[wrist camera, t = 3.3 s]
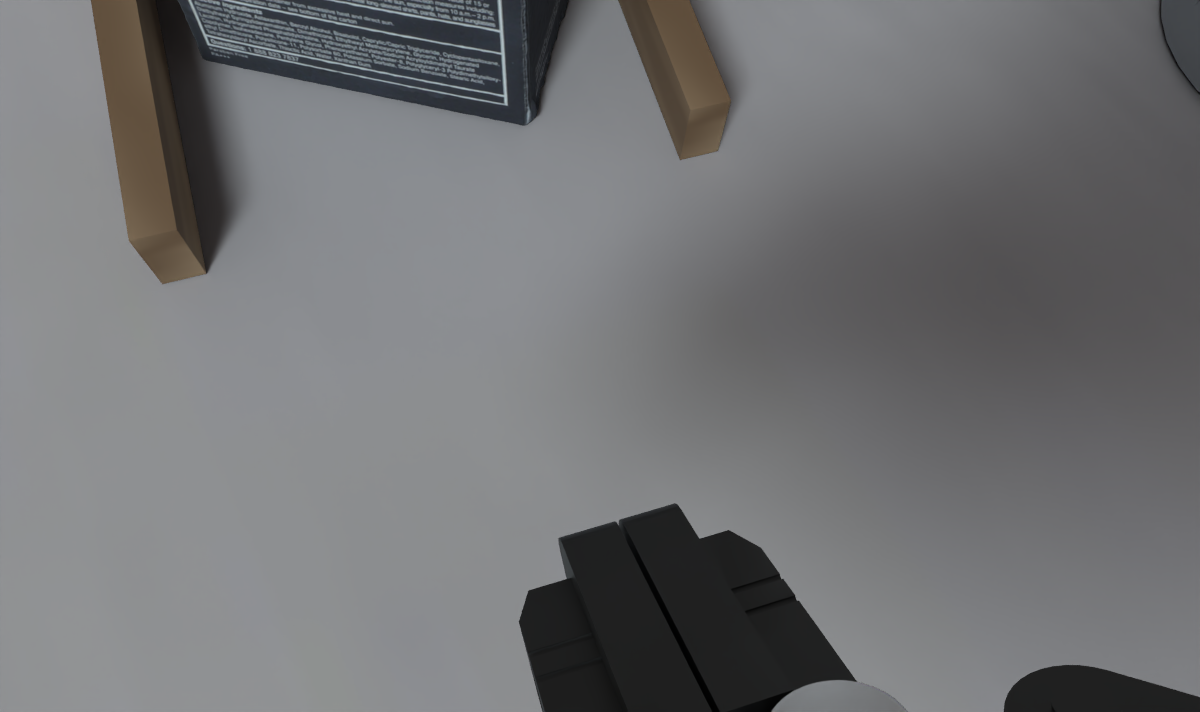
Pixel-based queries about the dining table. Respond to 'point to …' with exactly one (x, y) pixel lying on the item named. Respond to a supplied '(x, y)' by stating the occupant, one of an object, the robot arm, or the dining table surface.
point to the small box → (393, 47)
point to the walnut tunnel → (156, 148)
